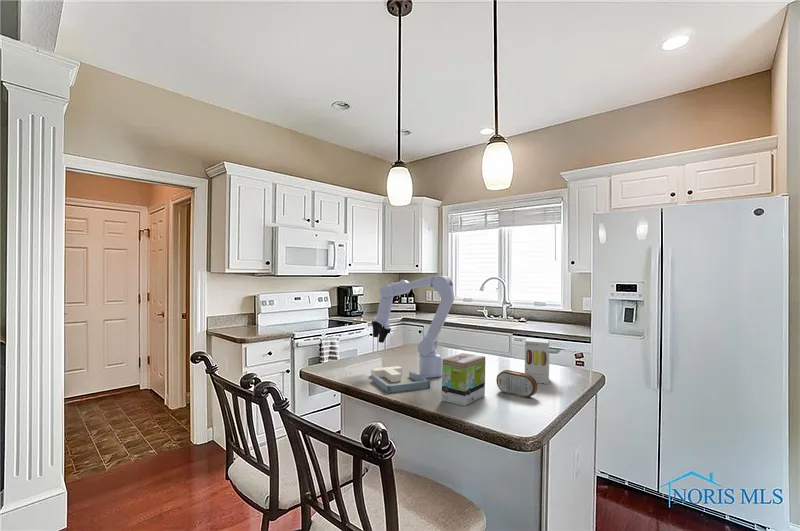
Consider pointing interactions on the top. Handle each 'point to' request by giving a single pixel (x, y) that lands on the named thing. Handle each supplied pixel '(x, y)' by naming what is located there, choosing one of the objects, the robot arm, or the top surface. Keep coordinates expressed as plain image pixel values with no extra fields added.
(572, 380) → the top surface
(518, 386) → the tin
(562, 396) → the top surface
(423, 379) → the shallow grey tray
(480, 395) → the tea box
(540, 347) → the supplement box
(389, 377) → the t block
